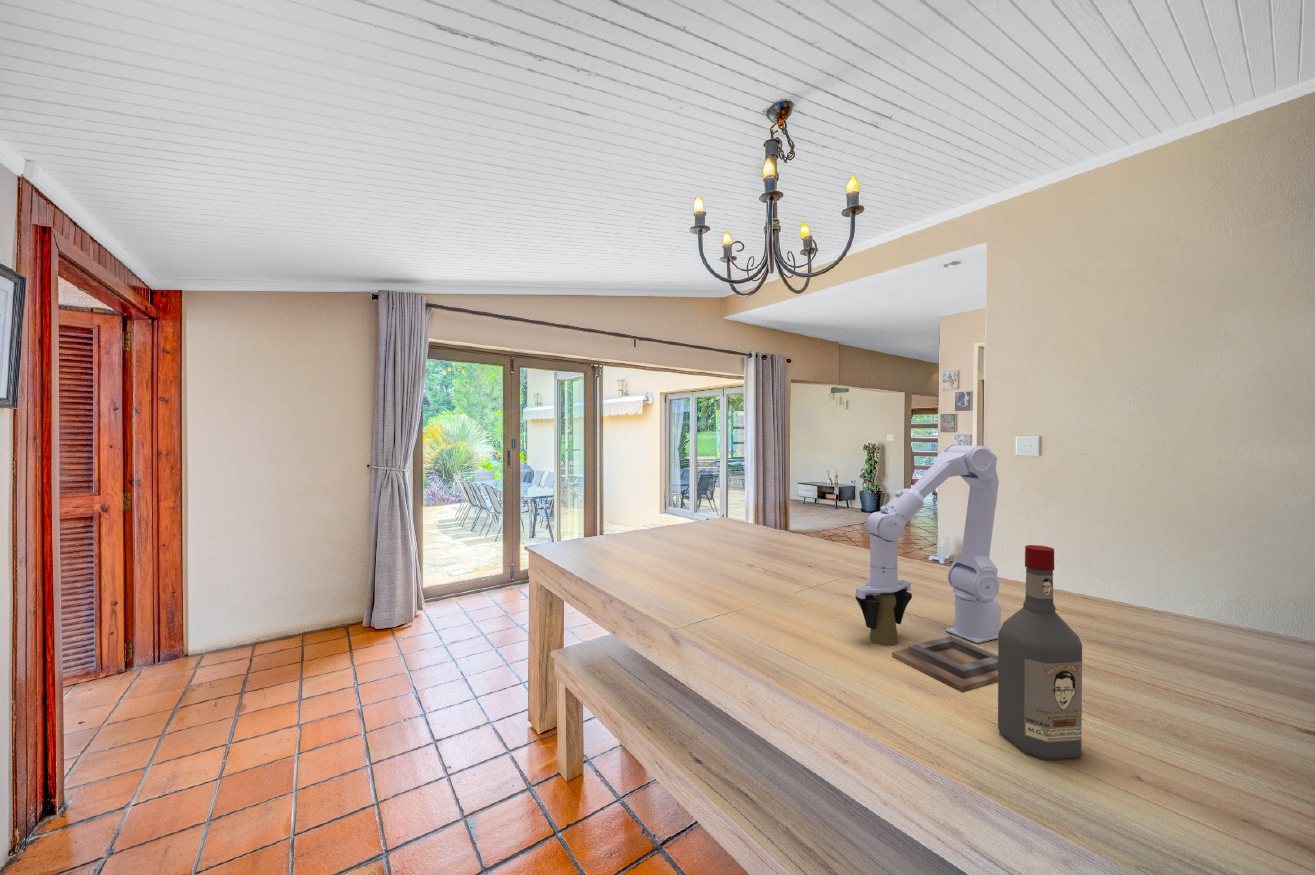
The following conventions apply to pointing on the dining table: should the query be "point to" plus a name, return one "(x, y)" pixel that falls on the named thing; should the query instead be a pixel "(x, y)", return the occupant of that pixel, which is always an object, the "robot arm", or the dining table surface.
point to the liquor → (1040, 670)
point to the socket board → (945, 674)
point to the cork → (885, 621)
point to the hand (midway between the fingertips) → (883, 625)
